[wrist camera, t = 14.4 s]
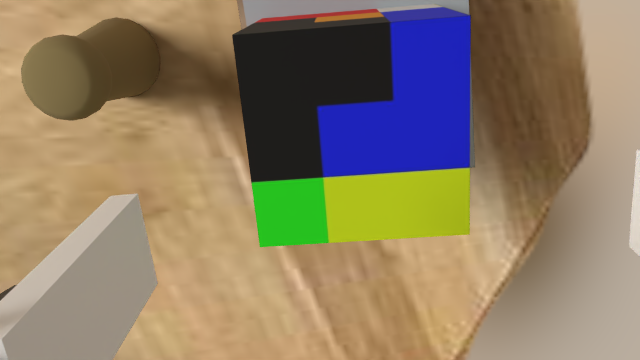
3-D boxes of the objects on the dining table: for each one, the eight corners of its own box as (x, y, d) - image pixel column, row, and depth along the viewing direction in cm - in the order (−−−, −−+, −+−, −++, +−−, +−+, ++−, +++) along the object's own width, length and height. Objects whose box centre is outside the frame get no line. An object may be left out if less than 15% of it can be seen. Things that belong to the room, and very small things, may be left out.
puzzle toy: (433, 3, 33) (470, 15, 24) (436, 167, 36) (469, 234, 27) (262, 18, 34) (232, 35, 24) (280, 177, 37) (260, 246, 28)
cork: (104, 107, 45) (35, 145, 35) (68, 34, 44) (-17, 51, 33) (173, 82, 45) (122, 113, 34) (139, 5, 43) (75, 15, 32)
